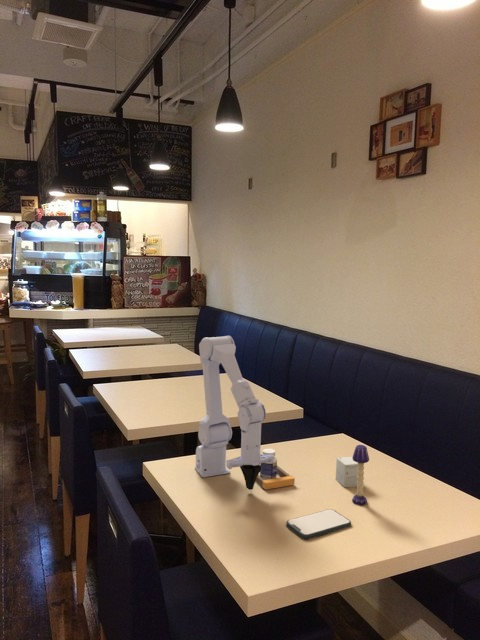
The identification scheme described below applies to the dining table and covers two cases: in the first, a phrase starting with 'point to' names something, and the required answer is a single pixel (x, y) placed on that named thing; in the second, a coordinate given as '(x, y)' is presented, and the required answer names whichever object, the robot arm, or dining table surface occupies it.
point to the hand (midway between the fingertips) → (249, 488)
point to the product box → (346, 471)
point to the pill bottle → (269, 466)
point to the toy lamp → (360, 473)
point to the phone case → (318, 524)
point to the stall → (279, 472)
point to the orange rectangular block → (278, 482)
